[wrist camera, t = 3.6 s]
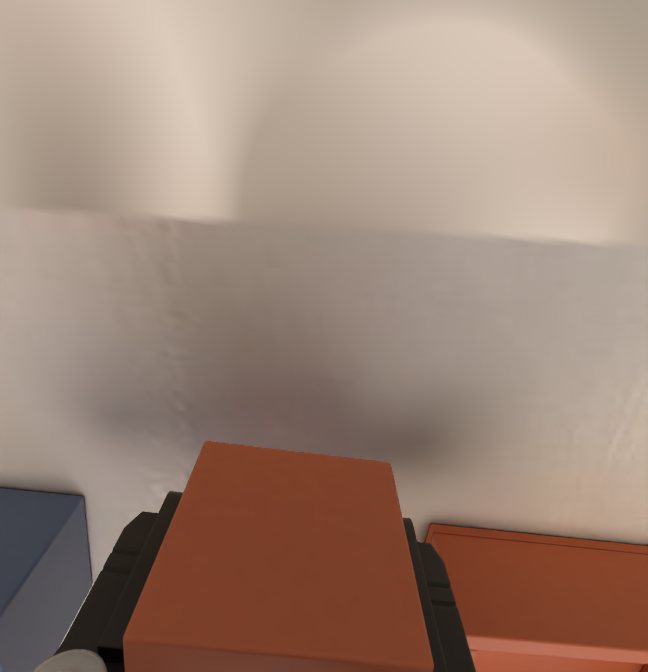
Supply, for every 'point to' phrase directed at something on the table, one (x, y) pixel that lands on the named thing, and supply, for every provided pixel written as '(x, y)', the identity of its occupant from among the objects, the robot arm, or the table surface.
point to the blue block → (39, 574)
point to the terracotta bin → (547, 600)
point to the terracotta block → (281, 571)
